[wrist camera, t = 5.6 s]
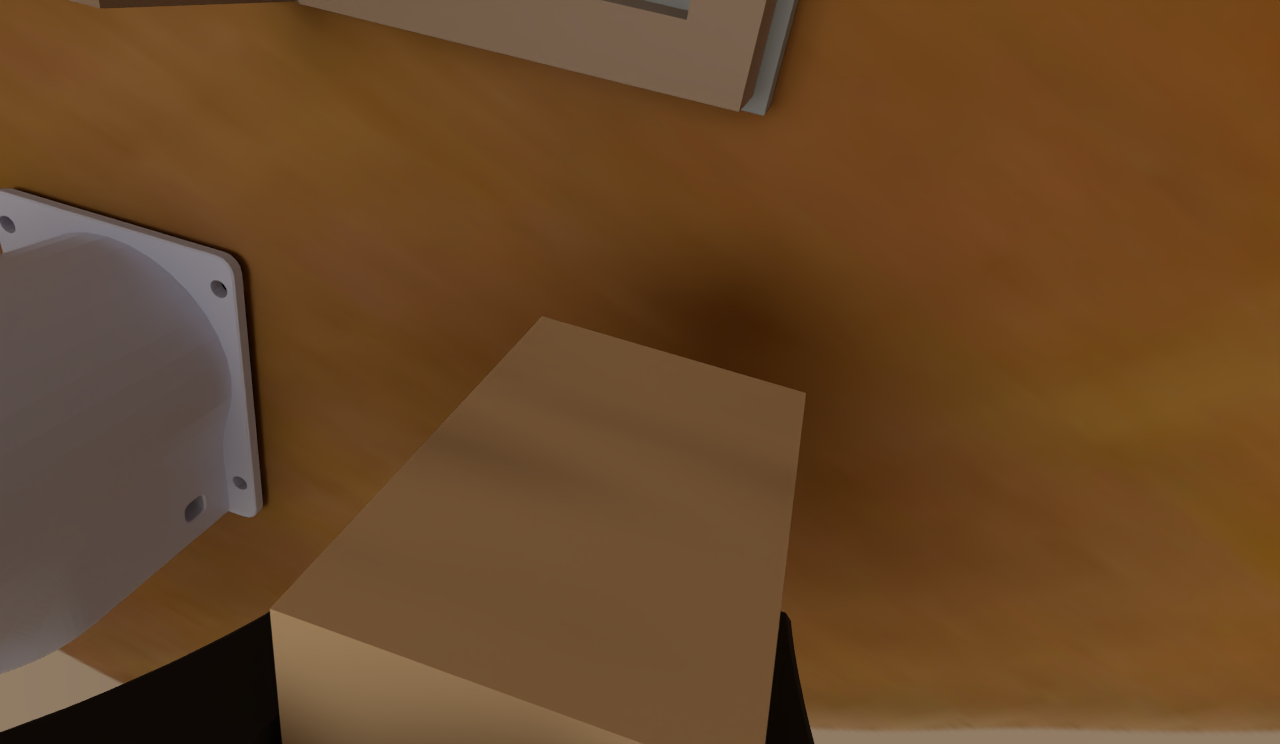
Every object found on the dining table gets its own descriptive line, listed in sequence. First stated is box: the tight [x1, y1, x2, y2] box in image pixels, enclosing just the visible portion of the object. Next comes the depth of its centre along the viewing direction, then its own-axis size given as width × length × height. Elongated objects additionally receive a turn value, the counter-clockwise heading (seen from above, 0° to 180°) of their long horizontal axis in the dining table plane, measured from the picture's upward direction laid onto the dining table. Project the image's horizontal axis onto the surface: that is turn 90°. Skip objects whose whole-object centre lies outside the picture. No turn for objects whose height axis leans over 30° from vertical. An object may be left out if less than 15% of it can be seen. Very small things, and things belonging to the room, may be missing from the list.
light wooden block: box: [270, 316, 806, 744], centre depth 10 cm, size 7×4×6 cm, turn 169°
